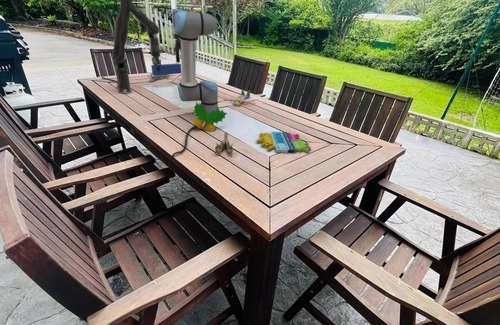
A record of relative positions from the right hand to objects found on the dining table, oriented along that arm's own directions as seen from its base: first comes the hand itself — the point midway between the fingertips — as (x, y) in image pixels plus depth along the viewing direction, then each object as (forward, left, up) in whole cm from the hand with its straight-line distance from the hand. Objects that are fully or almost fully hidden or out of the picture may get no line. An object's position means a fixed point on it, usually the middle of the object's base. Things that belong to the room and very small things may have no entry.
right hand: (180, 64), depth 201 cm
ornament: (-64, -13, -28) cm, 71 cm away
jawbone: (-97, -16, -28) cm, 102 cm away
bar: (+46, +11, -16) cm, 50 cm away
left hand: (+41, +20, -13) cm, 48 cm away
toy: (-8, -48, -28) cm, 56 cm away
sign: (-91, -51, -28) cm, 108 cm away
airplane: (+80, +20, -28) cm, 87 cm away
